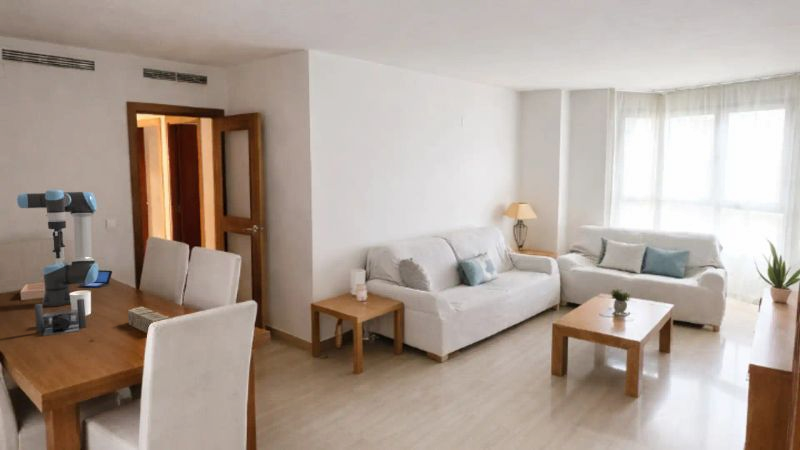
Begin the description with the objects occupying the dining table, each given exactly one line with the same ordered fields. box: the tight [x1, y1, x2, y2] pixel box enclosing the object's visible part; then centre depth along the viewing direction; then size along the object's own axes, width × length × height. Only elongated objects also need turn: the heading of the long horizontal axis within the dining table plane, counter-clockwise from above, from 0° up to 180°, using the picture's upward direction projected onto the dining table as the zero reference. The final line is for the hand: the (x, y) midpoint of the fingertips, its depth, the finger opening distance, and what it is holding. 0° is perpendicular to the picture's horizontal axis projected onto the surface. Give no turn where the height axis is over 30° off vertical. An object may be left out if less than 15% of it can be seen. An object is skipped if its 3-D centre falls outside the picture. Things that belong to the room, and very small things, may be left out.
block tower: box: [127, 306, 170, 334], centre depth 249 cm, size 8×8×29 cm
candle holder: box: [69, 290, 92, 317], centre depth 271 cm, size 10×10×12 cm
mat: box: [42, 324, 80, 337], centre depth 246 cm, size 11×14×1 cm
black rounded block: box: [52, 313, 70, 333], centre depth 245 cm, size 10×7×7 cm
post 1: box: [34, 303, 45, 335], centre depth 241 cm, size 3×3×14 cm
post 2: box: [77, 299, 87, 329], centre depth 249 cm, size 3×3×14 cm
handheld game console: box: [78, 269, 113, 289], centre depth 337 cm, size 16×13×9 cm
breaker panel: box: [43, 309, 79, 329], centre depth 254 cm, size 8×16×6 cm, turn 119°
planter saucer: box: [20, 282, 45, 301], centre depth 315 cm, size 21×20×5 cm
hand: (60, 262), depth 257 cm, fingers open, 13 cm apart
